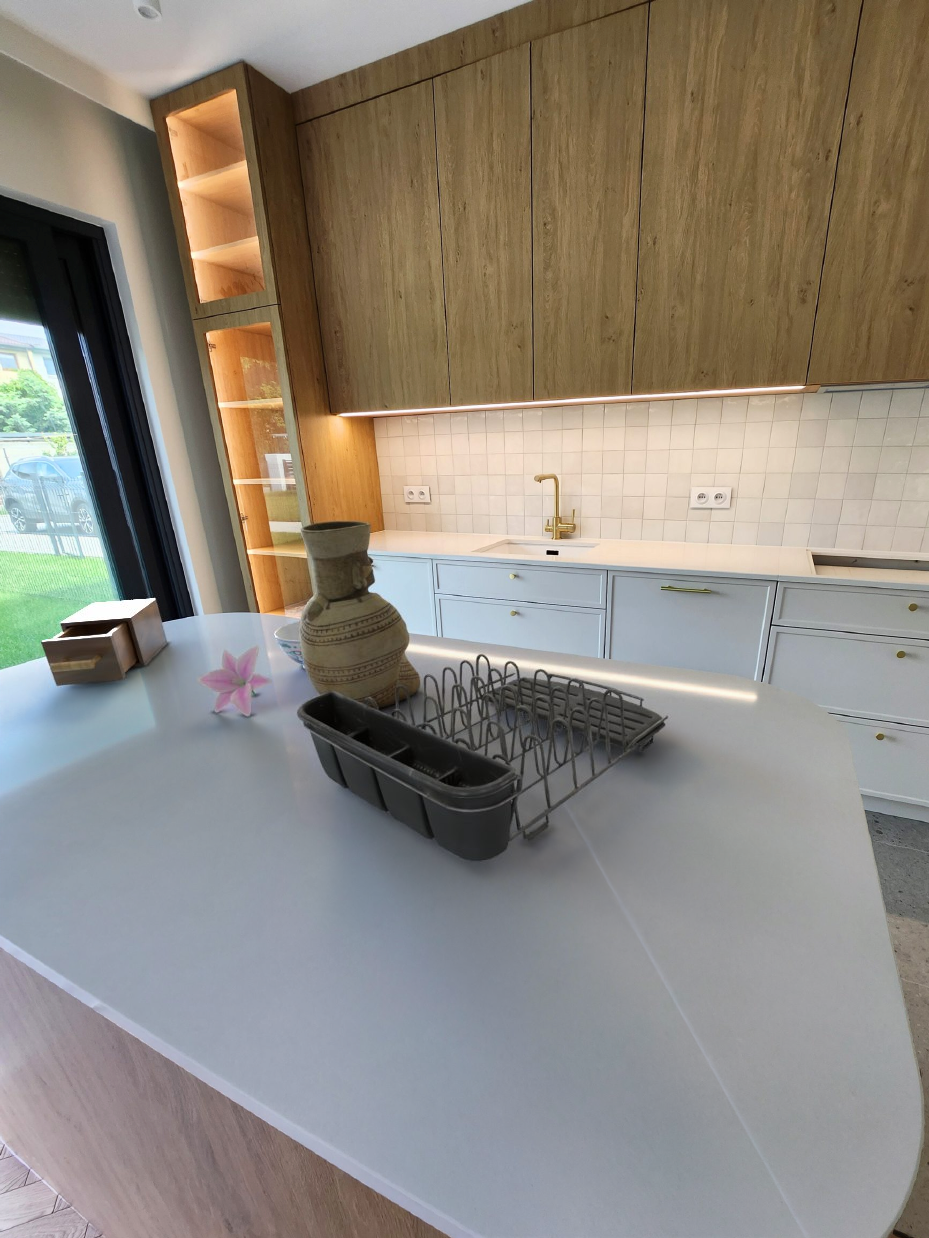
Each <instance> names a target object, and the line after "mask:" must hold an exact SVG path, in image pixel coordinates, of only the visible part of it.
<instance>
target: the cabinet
mask: <svg viewBox="0 0 929 1238" xmlns="http://www.w3.org/2000/svg"><path fill="white" fill-rule="evenodd" d="M124 621H128V625H129V628H130V631H131V635H132V638H133V642H134V645H135V648H136V652H137V655H138V658H139V660H138V661H136V662H135V663H134V664H133V665H132V666H131V667H130V668H129V669H131V668H132V669H133V668H141V667H146V666H147V665H148V664H149V663H150V662H151V661H152V660H153V659H154V658H155V657H156V656H157V655H158V654H159V653H160V652H161V651H162V649H164V648H165V647H166V646H167V645H168V639H167V636H166V631H165V629H164V628H165V627H164V625H163V621H162V617H161V613H160V610H159V606H158V603H157V598H146V599H133V600H132V599H131V600H121V601H120V600H119V601H106V602H94V603H93V602H92V603H91V604H89V605H88V606H86V607H84V608H83V609H81V610H79V611H78V612H76V613H74V614H73V615H71V616H69V617H67V618H66V619H64V620H62V621H61V622H59V625H60V627H61V630H62V632H63V631H65V630H66V629H68V628H70V627H71V626H76V625H88V624H100V623H112V622H124Z"/></svg>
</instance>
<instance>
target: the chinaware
mask: <svg viewBox="0 0 929 1238" xmlns="http://www.w3.org/2000/svg"><path fill="white" fill-rule="evenodd" d="M299 628H300V620H299V621H294V622H291V623H287V624H285V625H282V626H281V627H279V628H278V629H276V630H275V632H274V638H275V640H276V642H277V644H278V646H279V648H280V650H282V652H283V653H284V654H285V655H286V656H287V657H288V658H289V659H291V660H292V661H293V662H295V663H297V664H300V665H302V667H303V669H304V670H306V669H305V666H304V663H303V658H302V653H301V646H300V637H299Z"/></svg>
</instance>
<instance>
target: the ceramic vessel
mask: <svg viewBox="0 0 929 1238" xmlns="http://www.w3.org/2000/svg"><path fill="white" fill-rule="evenodd" d="M371 527H372V525H371V523H369V522H366V521H358V520H332V521H331V520H329V521H322V522H321V521H320V522H314V523H311V524H308V525H305V526H302V527H301V528H300V535H301V537H302V540H303V543H304V546H305V548H306V551H307V553H308V555H309V557H310V558H311V562H312V563H311V564H312V568H313V575H314V585H315V590H316V591H315V593H314V595H313V596H312V597H311V598H310V599H309V600H308V601H307V603H306V604H305V606H304V607H303V610H302V612H301V614H300V619H299V621H300V628H299V637H300V646H301V653H302V658H303V663H304V666H305V669H304V670H305V672H306V674H307V676H308V679H309V681H310V683H311V684H312V686H313V688H314V689H315V691H316V692H317V694H318V696H319V695H321V694H324V693H326V692H332V691H335V692H338V693H340V694H342V695H344V696H346V697H348V698H351V699H353V700H355V701H358V702H360V703H362V704H364V701H365V699H366V698H367V697H371V698H372V699H374V700H375V702H376V703H377V706H378V709H382V708H384V707H389V706H391V705H394V704H396V687H397V686H399V685H402V686H404V687H405V688H406V689H407V690H408V692H409V695H410V697H412V696H414V694H416V693H417V692H418V691H419V689H420V687H421V676H420V674H419V672H418V671H417V670H416V668H415V667H414V666H413V665H412V663H411V662H410V661H409V660H408V657H407V655H406V650H407V649H408V647H409V644H410V634H409V631H408V626H407V624H406V621H405V620H404V618H403V617H402V615H401V614H400V613H401V612H399V610H398V609H397V608H396V607H395V606H394V605H393V604H392V603H391V602H390V601H388V600H386V599H385V598H383V597H382V596H381V595H380V594H379V593H378V592H372V591H371V592H370V591H369V588H370V587H371V586H373V585H374V584H375V583H376V578H375V574H374V569H373V566H372V565H373V563H374V559H373V558H372V557H371V556H369V554H368V550H369V546H370V538H371V529H372V528H371ZM406 699H407V695H406V692H405V691H404V690H403V689H402V688H399V689H398V703H399V702H401V701H403V700H406ZM407 700H408V699H407ZM367 706H369V707H371V708H374V706H373V703H372V702H371V701H369V700H368V701H367ZM374 709H375V708H374Z"/></svg>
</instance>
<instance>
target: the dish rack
mask: <svg viewBox="0 0 929 1238" xmlns="http://www.w3.org/2000/svg"><path fill="white" fill-rule="evenodd" d="M481 657H482V658H484V660H485V662H486V664H487V679H486V680H487V681H486V683H485V681H484V679H482V677H481V676H480V673H479V672H480V670H479V669H480V668H479V667H480V666H479V665H480V659H481ZM465 663H466V664H467V665H468V667H470V671H471V676H472V677H471V678H470V682H469V684H470V685H469V699H468V695H467V691H466V689H465V687H464V686H463V665H464V664H465ZM508 665H512V666H513V667H514V668H515V670H516V672H512V673H509V674H507V668H508ZM503 669H504V670H503V675H502V673H501V671H499V669H497V668H495V667H491V663H490V660H489V657H487V655H485V654H483V653H480V654H477V655H476V659H475V670H474V666H473V664H472V663H471V662H470V661H469V660H466V659H463V660H462V661H460V663H459V683H458V677H457V674H456V671H455V670H454V669H453V668H451V666H445V667H444V668H443V669H442V676H441V680H442V681H441V695H440V689H439V684H438V681H437V679H436V677H435V676H433V675H432V674H429V673H428V674H425V675H424V676H423V703H422V705H423V706H422V709H423V712H422V722H420V723H419V724H417V725H416V720H415V715H414V711H413V705H412V701H411V696H410V695H409V692H408V690H407V689H406V688H405V687H404V686H402V685H399V686H397V687H396V703H395V708H394V709H392V711H391V715H390V714H388V713H386V712H383V711H382V710H380V708H378V706H377V703H376V702H375V700H374V699H372V698H371V697H367V698H366V699H365V701H364V704H362V703H360V702H358V701H355V700H353V699H351V698H348V697H346V696H344V695H342V694H340V693H338V692H335V691H332V692H326V693H324V694H321V695H319V694H318V695H315V696H313V697H311V698H309V699H307V700H306V701H304V702H302V703H301V705H299V706H298V708H297V710H296V715H297V717H298V719H299V720H300V721H302V725H303V727H304V729H306V730H308V731H309V733H310V736H311V740H312V742H313V745H314V748H315V750H316V754H317V757H318V760H319V762H320V765H321V767H322V769H323V770H324V773H325V775H326V776H327V777H328V778H329V779H330V780H332V781H333V782H334V783H336V784H337V785H339V786H341V787H342V788H344V789H349V790H350V791H351V793H353V794H354V795H355V796H357V797H358V798H361V799H363V800H364V801H366V802H367V803H369V804H371V805H372V806H374V807H375V808H377V809H379V810H380V811H381V812H383V813H385V812H386V813H389V814H390V815H391V817H392V818H394V819H395V820H396V821H398V822H400V823H402V824H403V825H405V826H406V827H408V828H410V829H411V830H413V831H415V832H416V833H418V834H420V835H421V836H423V837H424V838H426V839H427V840H428V839H429V840H433V839H434V840H435V842H436V843H437V845H438V846H440V847H441V848H442V849H445V850H446V851H448V852H450V853H451V854H453V855H455V856H456V857H459V858H461V859H463V860H466V861H470V862H483V861H489V860H491V859H493V858H496V857H498V856H500V855H501V854H503V853H504V852H505V851H506V850H507V849H508V846H509V843H510V842H511V841H513V840H514V839H515V838H516V837H518V836H519V835H521V834H522V838H523V839H524V840H525V841H528V842H529V841H531V840H533V839H534V838H535V837H537V836H538V835H539V834H541V833H542V832H544V831H545V830H547V828H549V823H550V818H549V814H551V813H552V812H553V811H555V810H556V809H557V808H559V807H561V805H563V804H564V803H565V802H567V801H568V800H569V799H570V798H571V799H572V798H573V797H574V796H575V795H576V794H577V793H579V792H580V791H582V790H583V789H584V788H586V787H587V786H588V785H589V784H591V783H593V781H595V780H596V779H598V778H599V777H601V775H603V774H604V773H605V772H607V771H608V770H609V769H611V768H612V767H614V766H615V765H616V764H617V763H618V762H619V761H621V760H623V759H624V758H625V757H626V756H627V755H629V754H630V753H631V752H634V750H636V749H638V752H640V753H644V751H646V750H647V749H648V748H649V747H650V746H651V745H652V744H654V736H655V734H658V733H659V732H660V731H661V730H663V728H665V727H666V723H665V721H666V720H667V719H669V715H667V714H666V715H665V716H664V717H662V716H661V715H660V714H659V713H658V712H656V711H653V710H651V709H650V708H649V709H648V708H646V707H644V706H643V702H644V701H645V699H644V698H643V697H642V696H638V695H635V694H632V693H629V692H626V691H623V690H619V689H617V688H614V687H611V686H608V685H603V684H599V683H595V682H592V681H588V680H584V679H579V678H577V677H570V676H565V675H561V674H556V673H548V672H547V671H546V670H545V669H543V668H538V669H536V670H535V671H534V674H533V677H527V676H521V674H520V669H519V667H518V665H517V663H515V661H512V660H508V661H506V662H505V663H504V668H503ZM447 670H448V671H450V672H451V673H452V676H453V681H454V684H453V685H452V687H451V697H450V698H451V701H450V709H449V710H447V711H445V707H446V705H445V704H446V699H445V695H446V687H445V684H446V671H447ZM492 672H495V673H496V674H497V675H498V676H499V678H497V679H494V680H493V675H492ZM539 673H543V674H544V675H545V676H546V679H547V680H546V679H540V678H537V676H538V674H539ZM515 675H516V679H512V680H510V681H509V682H507V679H508V678H511V677H513V676H515ZM427 678H430V679H431V680H432V681H433V683H434V688H435V691H436V696H437V700H436V698H435V697H434V696H431V695H427ZM552 678H558V679H563V680H567V683H563V682H559V681H552V680H551V679H552ZM479 681H480V683H481V685H480V686H479ZM499 682H500V686H497V687H494V684H497V683H499ZM571 683H575V684H578V685H574V684H571ZM584 684H585V685H589V686H593V687H597V688H601V689H603V690H605V692H601V691H598V690H593V689H590V688H586V687H585V685H584ZM490 687H491V690H490ZM399 688H402V689H403V690H404V691H405V692H406V695H407V703H408V710H409V715H410V719H411V723H410V722H408V721H407V717H406V715H405V714H404V712H403V711H402V710H401V709H400V706H399V705H400V704H399V702H398V689H399ZM473 689H474V693H473ZM482 690H483V691H482ZM482 692H483V693H482ZM612 693H613V694H614V695H615V696H613V695H612ZM455 694H456V698H457V704H458V706H456V707H455ZM473 694H475V698H474V699H473V697H474V696H473ZM462 695H463V696H462ZM622 695H623V696H626V697H629V698H631V699H632V698H633V699H635V700H639V704H637V703H634V702H631V701H628V700H626V699H623V696H622ZM616 696H617V697H616ZM463 697H464V703H463V704H462V698H463ZM368 700H369V701H371V702H372V703H373V706H374V708H375V709H374V708H371V707H369V706H367V701H368ZM428 700H430V701H431V702H433V704H434V706H435V707H434V708H435V712H436V716H434V717H432V718H430V719H428V718H427V716H428V715H427V711H428V709H427V705H428V704H427V702H428ZM468 700H469V701H468ZM474 703H476V707H477V713H478V716H479V721H477V722H474V723H472V711H473V709H472V707H473V705H474ZM489 703H490V704H493V705H494V707H495V713H493V714H491V715H490V710H489V709H490V708H489ZM464 707H465V709H464ZM508 709H509V710H512V711H514V717H513V727H512V726H511V725H510V722H509V715H508ZM484 710H485V712H484ZM457 712H459V715H460V721H461V725H462V726H463V727H464V728H462V729H460V730H458V731H456V717H457V716H456V715H457ZM503 712H504V716H505V724H506V727H507V728H508V729H509V730H507V731H506V732H505V729H504V728H503V726H502V723H501V722H502V713H503ZM484 713H485V715H484ZM520 713H521V714H522V719H523V720H524V721H525V722H522V723H521V719H520ZM449 714H450V729H449V733H448V732H447V728H446V724H445V723H446V722H445V716H447V715H449ZM527 716H529V718H527ZM400 717H401V718H402V719H400ZM464 717H465V719H464ZM493 717H496V720H491V718H493ZM436 720H437V724H438V725H437V726H438V731H439V735H438V732H437V730H436V728H435V727H434V725H432V722H434V721H436ZM465 720H466V723H465ZM486 720H487V723H486V726H485V737H484V738H485V739H484V743H483V729H484V727H483V726H484V725H483V723H484V721H486ZM539 720H541V721H546V722H547V726H546V734H545V738H543V737H542V735H541V731H540V723H539ZM528 723H530V734H527V735H525V736H524V738H523V732H522V727H523V726H525V725H526V724H528ZM477 725H479V736H478V746H477V745H476V744H475V739H474V733H473V727H474V726H477ZM492 725H495V727H497V732H496V736H494V733H493V730H492ZM535 725H536V726H535ZM557 726H560V727H561V728H560V729H559V728H558V727H557ZM427 727H428V728H429V729H430V730H431V731H428V730H427ZM535 727H536V730H535ZM466 730H467V733H468V740H466V739H465V737H456V735H458V734H460V733H462V732H464V731H466ZM566 730H567V735H566V742H565V748H564V756H563V761H562V762H560V761H559V760H558V756H557V745H556V736H557V735H559V734H560V733H562V732H564V731H566ZM517 731H518V738H519V744H520V748H521V753H519V754H517V755H515V745H516V733H517ZM555 731H556V732H555ZM573 731H575V732H576V733H577V732H578V733H580V734H582V736H581V743H580V748H579V751H576V749H575V747H574V738H573ZM510 733H512V738H511V746H510V757H509V753H508V747H507V739H506V735H508V734H510ZM536 733H537V736H536ZM444 735H445V736H446V737H444ZM489 736H490V738H491V739H490V740H489ZM450 738H451V740H448V739H450ZM586 739H587V741H588V746H587V747H585V746H584V745H585V740H586ZM593 739H595V740H594V741H593ZM497 740H499V743H500V750H501V753H494V754H493V755H492V757H489V756H488V751H489V750H488V749H489V744H491V743H493V742H495V741H497ZM528 740H529V742H528ZM548 740H549V743H548V751H547V761H546V758H545V749H544V748H545V747H544V745H543V743H545V742H547V741H548ZM601 741H603V742H605V747H606V755H607V765H605V766H604V767H603V768H601V769H600V770H599V771H597V772H596V771H595V770H596V768H595V767H596V766H595V757H594V746H596V744H598V743H599V742H601ZM646 741H647V743H645V742H646ZM459 743H461V744H463V745H465V746H466V747H465V746H463V745H460V744H459ZM482 743H483V744H482ZM527 744H528V748H527ZM643 744H644V745H643ZM611 745H614V746H616V747H619V748H622V752H623V753H622V754H621V755H619V756H617V757H616V758H615V759H613V760H612V755H611ZM538 746H539V750H540V751H539V753H540V760H541V767H542V772H541V771H540V764H539V756H538V749H537V747H538ZM584 747H585V748H584ZM482 748H484V754H482V753H480V752H477V751H479V750H480V749H482ZM532 750H533V757H534V763H535V771H536V773H537V775H538V776H539V777H540V778H538V779H536V780H535V781H533V782H532V783H531V784H529V785H527V786H526V787H525V788H523V782H524V772H525V761H526V754H527V753H528V752H531V751H532ZM569 751H570V753H569ZM586 751H589V759H590V769H591V777H590V778H588V779H587V780H585V781H584V782H582V783H581V784H579V785H578V776H577V767H576V759H575V758H577V757H579V756H580V755H581V754H583V753H585V752H586ZM552 752H553V760H554V762H555V764H556V765H558V766H556V767H555V768H553V769H552V770H550V767H551V759H552ZM568 753H569V754H570V758H568ZM514 755H515V756H514ZM518 758H521V759H520V769H519V770H520V771H519V773H517V772H516V768H515V767H514V766H512V764H511V763H512V762H513V761H515V760H517V759H518ZM498 759H500V760H502V761H504V762H502V761H499V760H498ZM569 762H570V763H571V772H572V773H571V774H572V781H573V785H574V786H573V787H574V789H573V790H572V791H570V792H569V793H568V794H566V795H565V796H563V797H562V798H561V799H560V800H558V801H557V802H556V803H554V804H553V805H552V802H551V795H550V794H551V793H550V787H549V780H548V776H550V775H552V774H553V773H555V772H556V771H557V770H559V769H561V768H562V767H564V766H565V765H567V764H568V763H569ZM542 781H543V787H544V794H545V801H546V807H547V808H545V809H544V810H543V812H541V813H540V814H538V815H537V816H536V817H534V818H533V819H531V820H530V821H528V822H527V823H526V824H524V825H522V826H521V822H520V817H519V809H518V801H519V796H521V795H522V794H524V793H525V792H526V791H528V790H529V789H531V788H532V787H534V786H535V785H537V784H538V783H540V782H542ZM515 782H516V785H515ZM513 818H515V825H516V830H515V831H514V832H513V833H512V834H511V827H512V822H513ZM543 818H545V821H543V822H542V823H541V824H540V825H538V826H537V827H535V828H534V829H533V830H531V831H529V832H528V833H526V831H527V830H528V829H529V828H531V827H532V826H533V825H535V824H536V823H538V822H539V821H541V820H542V819H543Z"/></svg>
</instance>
